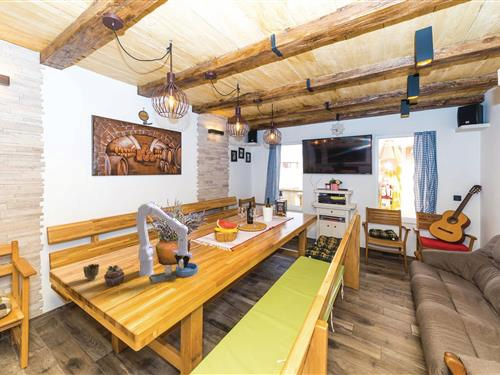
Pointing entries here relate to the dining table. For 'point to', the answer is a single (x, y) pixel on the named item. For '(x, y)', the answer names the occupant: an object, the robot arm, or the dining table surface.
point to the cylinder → (168, 270)
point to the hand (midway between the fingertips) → (182, 266)
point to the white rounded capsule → (181, 265)
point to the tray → (161, 277)
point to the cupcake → (113, 276)
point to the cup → (91, 271)
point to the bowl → (187, 270)
